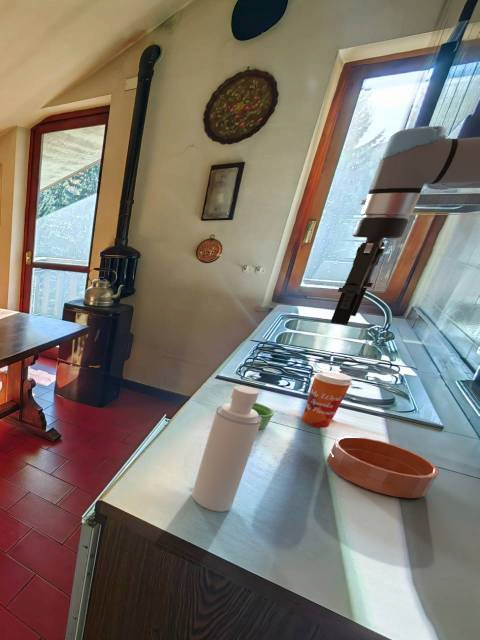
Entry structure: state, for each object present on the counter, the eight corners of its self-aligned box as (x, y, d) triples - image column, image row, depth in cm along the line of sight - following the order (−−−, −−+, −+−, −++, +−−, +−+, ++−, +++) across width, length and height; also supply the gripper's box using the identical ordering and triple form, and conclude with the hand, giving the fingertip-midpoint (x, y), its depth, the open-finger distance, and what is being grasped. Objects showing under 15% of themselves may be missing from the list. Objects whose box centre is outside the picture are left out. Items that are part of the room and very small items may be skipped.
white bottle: (235, 500, 75) (277, 381, 65) (225, 517, 71) (268, 392, 61) (197, 484, 79) (231, 370, 70) (186, 499, 75) (221, 380, 65)
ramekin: (261, 434, 99) (266, 419, 97) (223, 420, 106) (227, 405, 104) (274, 424, 104) (279, 409, 102) (237, 412, 111) (241, 398, 109)
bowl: (425, 479, 82) (438, 457, 80) (423, 511, 73) (438, 487, 71) (332, 449, 93) (341, 429, 91) (320, 474, 83) (329, 452, 81)
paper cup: (293, 421, 106) (312, 373, 100) (300, 413, 110) (318, 367, 105) (330, 433, 100) (352, 383, 95) (336, 424, 105) (357, 376, 99)
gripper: (365, 218, 90) (331, 309, 98) (350, 216, 75) (311, 324, 83) (412, 218, 85) (372, 314, 93) (407, 216, 69) (358, 331, 78)
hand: (343, 319), depth 88 cm, fingers open, 13 cm apart
